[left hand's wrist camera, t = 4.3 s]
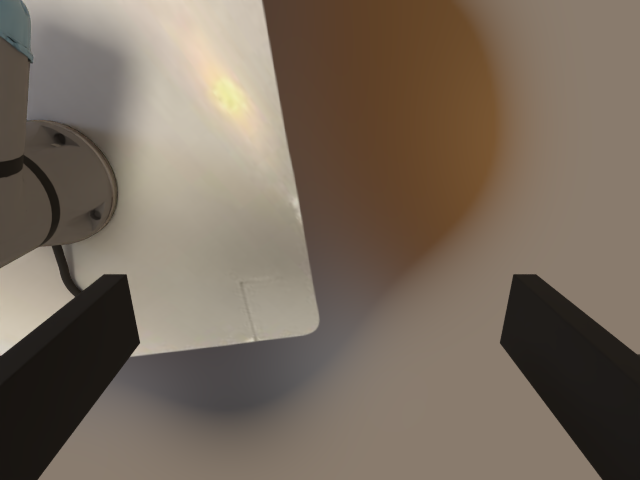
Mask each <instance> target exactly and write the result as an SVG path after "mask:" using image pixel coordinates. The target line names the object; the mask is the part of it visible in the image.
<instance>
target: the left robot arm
mask: <svg viewBox="0 0 640 480" xmlns="http://www.w3.org/2000/svg"><path fill="white" fill-rule="evenodd" d="M30 37H31V20H30V15H29V12H28V9H27V7H26V6H25V4H24V3H23V2H22V0H0V268H1V267H3V266H5V265H7V264H9V263H10V262H12V261H14V260H16V259H18V258H19V257H21V256H23V255H25V254H27V253H28V252H30V251H32V250H34V249H36V248H37V247H42V246H52V248H53V251H54V254H55V257H56V260H57V263H58V266H59V270H60V274H61V277H62V280H63V282H64V284H65V286H66V287H67V289H68V290H69V291H70V292H71V293H72V294H73V295H74V296H75V298H74V299H72V300H71V301H70V302H69V303H67V304H66V305H65V306H64V307H62V308H61V309H60V310H58V311H57V312H56V313H55V314H53V315H52V316H51V317H50V318H48V319H47V320H46V321H45V322H43V323H42V324H41V325H40V326H38V327H37V328H36V329H35V330H33V331H32V332H31V333H29V334H28V335H27V336H26V337H24V338H23V339H22V340H21V341H19V342H18V343H17V344H16V345H14V346H13V347H12V348H11V349H9V350H8V351H7V352H5V353H4V354H3V355H2V356H0V480H38V478H39V477H40V476H41V474H42V473H43V472H44V470H45V469H46V468H47V466H48V465H49V464H50V462H51V461H52V460H53V458H54V457H55V456H56V454H57V453H58V452H59V450H60V449H61V448H62V446H63V445H64V444H65V442H66V441H67V440H68V438H69V437H70V436H71V434H72V433H73V432H74V430H75V429H76V428H77V426H78V425H79V424H80V422H81V421H82V420H83V418H84V417H85V416H86V414H87V413H88V412H89V410H90V409H91V408H92V406H93V405H94V404H95V402H96V401H97V400H98V398H99V397H100V396H101V394H102V393H103V392H104V390H105V389H106V388H107V386H108V385H109V384H110V382H111V381H112V380H113V378H114V377H115V376H116V374H117V373H118V372H119V370H120V369H121V368H122V366H123V365H124V364H125V362H126V361H127V360H128V358H129V357H130V356H131V354H132V353H133V352H134V350H135V349H136V348H137V346H138V345H139V344H140V340H139V335H138V330H137V325H136V320H135V315H134V310H133V305H132V300H131V295H130V289H129V284H128V279H127V274H104V275H103V276H101V277H100V278H99V279H98V280H96V281H95V282H94V283H93V284H91V285H90V286H89V287H87V288H86V289H85V290H84V291H82V292H81V291H80V290H79V289H78V288H77V287H76V286H75V284H74V283H73V281H72V279H71V277H70V274H69V269H68V265H67V262H66V259H65V256H64V252H63V249H62V246H61V245H64V244H71V243H75V242H78V241H81V240H84V239H86V238H88V237H90V236H92V235H94V234H95V233H97V232H98V231H100V230H101V229H102V228H103V227H104V226H105V225H106V224H107V223H108V222H109V220H110V219H111V217H112V215H113V213H114V210H115V207H116V203H117V185H116V180H115V176H114V173H113V171H112V168H111V166H110V164H109V162H108V161H107V159H106V157H105V156H104V155H103V153H102V152H101V151H100V150H99V148H98V147H97V146H96V145H95V144H94V143H93V142H92V141H91V140H89V139H88V138H87V137H86V136H84V135H83V134H82V133H80V132H78V131H77V130H75V129H73V128H71V127H69V126H66V125H64V124H61V123H58V122H53V121H47V120H31V121H26V117H27V101H28V85H29V69H30V63H33V55H32V54H31V52H30ZM500 344H501V345H502V346H503V348H504V349H505V350H506V352H507V353H508V354H509V356H510V357H511V358H512V360H513V361H514V362H515V364H516V365H517V366H518V368H519V369H520V370H521V372H522V373H523V374H524V376H525V377H526V378H527V380H528V381H529V382H530V384H531V385H532V386H533V388H534V389H535V390H536V392H537V393H538V394H539V396H540V397H541V398H542V400H543V401H544V402H545V404H546V405H547V406H548V408H549V409H550V410H551V412H552V413H553V414H554V416H555V417H556V418H557V420H558V421H559V422H560V424H561V425H562V426H563V428H564V429H565V430H566V432H567V433H568V434H569V436H570V437H571V438H572V440H573V441H574V442H575V444H576V445H577V446H578V448H579V449H580V450H581V452H582V453H583V454H584V456H585V457H586V458H587V460H588V461H589V462H590V464H591V465H592V466H593V468H594V469H595V470H596V472H597V473H598V474H599V476H600V477H601V478H602V480H640V354H639V355H637V354H636V353H634V352H633V351H632V350H631V349H629V348H628V347H627V346H626V345H624V344H623V343H622V342H620V341H619V340H618V339H617V338H616V337H614V336H613V335H612V334H610V333H609V332H608V331H607V330H605V329H604V328H603V327H602V326H600V325H599V324H598V323H597V322H595V321H594V320H593V319H592V318H590V317H589V316H588V315H586V314H585V313H584V312H583V311H582V310H580V309H579V308H578V307H576V306H575V305H574V304H573V303H571V302H570V301H569V300H568V299H566V298H565V297H564V296H563V295H561V294H560V293H559V292H558V291H556V290H555V289H554V288H552V287H551V286H550V285H549V284H547V283H546V282H545V281H544V280H542V279H541V278H540V277H539V276H537V275H536V274H514V275H513V279H512V284H511V290H510V295H509V300H508V305H507V310H506V315H505V320H504V325H503V330H502V335H501V340H500Z"/></svg>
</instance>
